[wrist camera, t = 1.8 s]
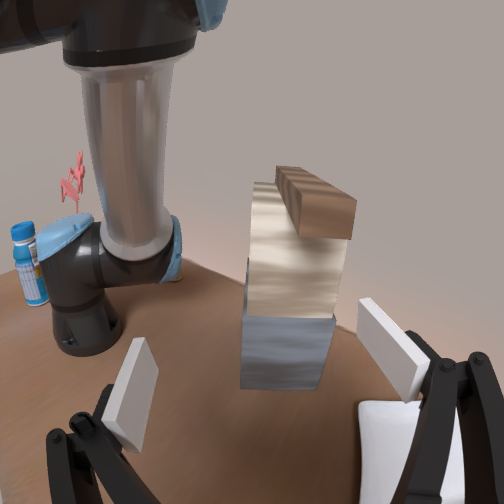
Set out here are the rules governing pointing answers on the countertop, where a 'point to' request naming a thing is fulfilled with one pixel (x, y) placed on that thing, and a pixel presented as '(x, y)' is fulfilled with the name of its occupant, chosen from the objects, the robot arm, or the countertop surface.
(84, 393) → the countertop surface
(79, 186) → the stick figure toy
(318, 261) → the tower
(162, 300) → the countertop surface
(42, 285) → the beverage bottle
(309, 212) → the walnut bar
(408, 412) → the salad plate
